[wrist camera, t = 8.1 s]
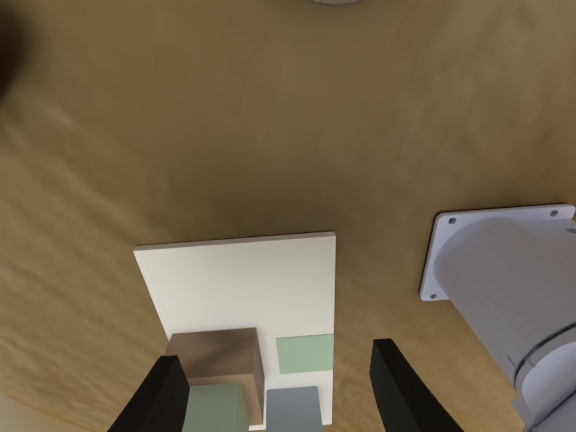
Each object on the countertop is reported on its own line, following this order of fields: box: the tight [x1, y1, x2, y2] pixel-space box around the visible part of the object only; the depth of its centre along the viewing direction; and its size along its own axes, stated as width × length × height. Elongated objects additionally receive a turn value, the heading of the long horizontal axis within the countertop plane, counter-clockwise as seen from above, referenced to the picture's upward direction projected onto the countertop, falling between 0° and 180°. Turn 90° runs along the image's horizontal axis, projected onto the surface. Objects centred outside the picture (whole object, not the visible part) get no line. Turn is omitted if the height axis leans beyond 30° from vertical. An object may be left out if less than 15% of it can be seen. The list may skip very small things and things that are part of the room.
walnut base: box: [164, 327, 265, 426], centre depth 24 cm, size 7×7×4 cm
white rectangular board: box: [133, 231, 336, 431], centre depth 26 cm, size 14×25×1 cm, turn 4°
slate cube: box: [266, 386, 323, 432], centre depth 27 cm, size 5×5×5 cm
